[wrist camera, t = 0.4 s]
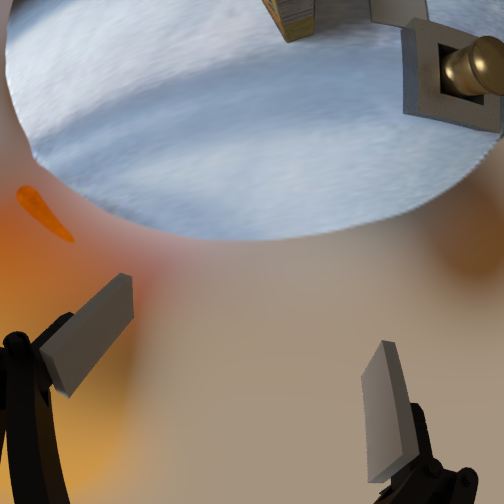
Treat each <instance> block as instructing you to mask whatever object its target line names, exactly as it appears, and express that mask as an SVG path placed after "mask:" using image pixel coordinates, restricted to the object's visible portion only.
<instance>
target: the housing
mask: <svg viewBox="0 0 504 504" xmlns="http://www.w3.org/2000/svg"><path fill="white" fill-rule="evenodd" d="M478 38H479V37H476V36H474V35H471V34H468V33H466V32H463V31H460V30H457V29H454V28H451V27H448V26H445V25H441V24H438V23H435V22H431V21H428V20H424V19H420V18H416V17H413V18H412V20H411V21H410V22H409V23H408V24H407V25H406V26H405V27H404V28H403V29H402V30H401V43H402V62H403V114H407V115H413V116H418V117H423V118H428V119H433V120H437V121H442V122H446V123H450V124H454V125H458V126H462V127H466V128H470V129H473V130H477V131H485V132H494V133H500V113H501V103H500V96H497V95H493V94H482V95H473V96H465V97H463V99H460V98H456V97H453V96H449V95H445V94H441V93H440V70H439V58H443V57H445V56H447V55H449V54H451V53H454V52H456V51H458V50H460V49H463V48H465V47H467V46H469V45H471V43H472V42H473V41H474V40H476V39H478Z"/></svg>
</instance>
